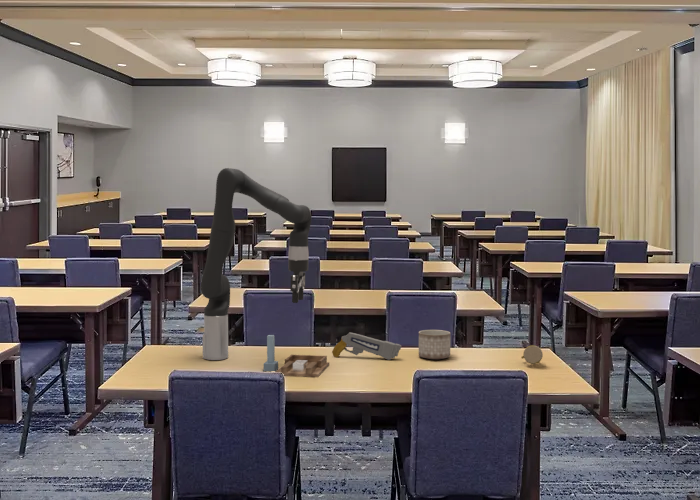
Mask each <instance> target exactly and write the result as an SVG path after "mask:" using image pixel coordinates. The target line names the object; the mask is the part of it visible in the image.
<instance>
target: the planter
mask: <svg viewBox="0 0 700 500" xmlns="http://www.w3.org/2000/svg"><path fill="white" fill-rule="evenodd" d="M418 356H419V357H420V358H424V359H428V360H433V361H435V360H436V361H437V360H438V361H439V360H443V359H447V358H449V357H451V332H450V331H448V330H442V329H423V330H419V331H418Z"/></svg>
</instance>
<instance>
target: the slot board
mask: <svg viewBox="0 0 700 500" xmlns="http://www.w3.org/2000/svg"><path fill="white" fill-rule="evenodd" d="M327 357H328V356H327V355H316V354H315V355H314V354H313V355H311V354H290V355H289V356H288V357H286V358H285V359H284V364H283V365H282V366H280V367H278V370H277V371H275V372H282V373H283V374H284V375H285V376H284V377H286V376H287V377H303V378H305V377H307V378H309V377H310V378H311V377H312V378H319V376H321V374H322V373H324V371H325V370H326V369H327V368H328V367H329V366H330V362H327V361H328V359H327ZM297 360H308V366H307V367H306V370H305V371H304V372H297V371H293V363H294V362H295V361H297Z"/></svg>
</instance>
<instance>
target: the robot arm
mask: <svg viewBox="0 0 700 500" xmlns="http://www.w3.org/2000/svg"><path fill="white" fill-rule="evenodd" d="M235 193H238V194H242V195H245V196H247V197H249V198H252V199H253V200H255V201H256V202H257V203H258V204H259V205H261V206H262V207H264V208H266V209H268V210H269V211H272V212H273V213H275V214H277V215H279V216H280V217H281V218H283V219H284V220H285V221H287V222H289V223H292V224H294V225H293V229H292V230H291V231H290V233H289V240H288V241H289V246H288V264H287V265H288V267H287V268H288V271H289V272H293V274H291V275H290V290H289V291H290V292H291V293H292V294H291V295H292V296H291V303H293V304H298V303H299V301H303V300H304V290H305V288H306V272H307V271H309V255H310V254H309V253H310V252H309V232H310V229H311V224H312V212H311V209H310V208H309V207H308V206H307V205H302V204H301V205H300V204H296V203H294V202H291V201H290V200H289V198H287V197H286V196H285V195H282V194H280V193H278V192H276V191H274V190H272V189H270V188H268V187H266V186H264V185H262V184H261V183H258V182H257V181H256V180H254V179H252V178H251V177H250V176H249V175H247V174H246V173H245V172H244V171H242V170H240V169H237V168H229V167H227V168H226V167H225V168H222V169H221V170H220V171H219V172H218V174H217V177H216V184H215V203H214V209H213V217H212V224H211V228H210V234H209V243H208V248H207V254H206V255H207V256H206V262H205V265H204V270H203V273H202V275H201V282H200V286H199V287H200V292H201V294H202V295H203V297H205V298H206V299H208V302H207V305H206V306H205V307H204V310H203V317H204V318H203V322H204V325H203V326H204V327H203V328H204V333H203V334H202V359H205V360H210V361H219V360H226V359H228V358H229V308H230V306H231V284H230V281H229V278H228V277H227V276H226V275H224V274H223V268H224V264H225V262H226V259H228V258H227V257H228V255H229V254H230V252H231V250H232V247H233V244H234V241H235V233H236V221H235V216H234V211H233V203H234V202H233V201H234V196H235Z"/></svg>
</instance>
